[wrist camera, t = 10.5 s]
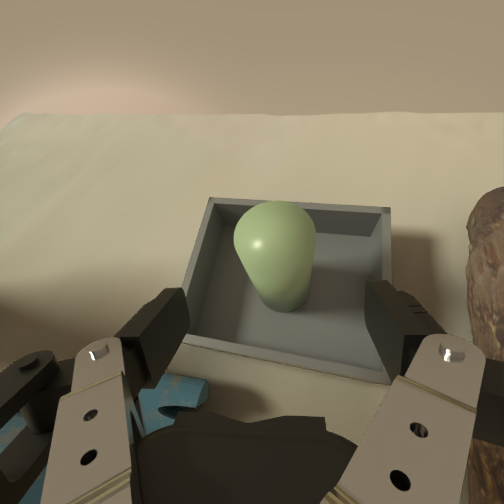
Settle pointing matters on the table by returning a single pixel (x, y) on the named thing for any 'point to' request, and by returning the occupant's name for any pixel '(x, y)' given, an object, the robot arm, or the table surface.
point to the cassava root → (486, 330)
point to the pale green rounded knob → (277, 253)
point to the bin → (316, 305)
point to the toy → (154, 411)
